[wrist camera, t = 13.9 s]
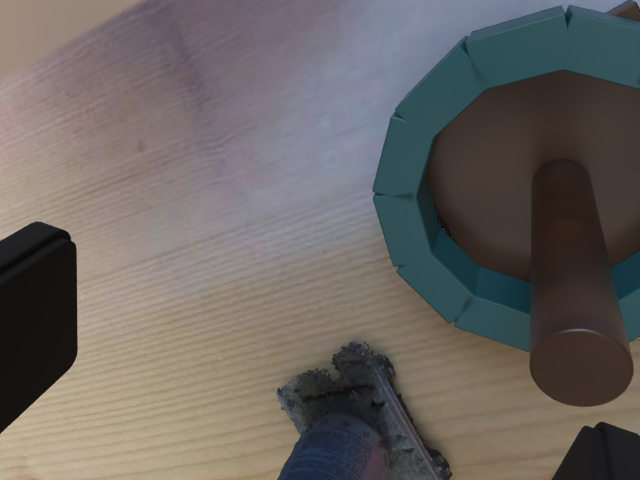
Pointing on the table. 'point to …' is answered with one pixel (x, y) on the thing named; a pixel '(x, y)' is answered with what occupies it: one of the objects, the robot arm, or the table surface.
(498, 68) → the ring
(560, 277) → the post
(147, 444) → the table surface
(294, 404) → the can on ragged base
